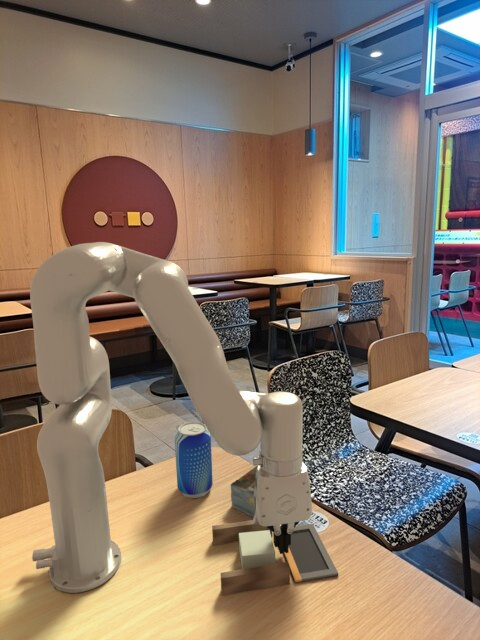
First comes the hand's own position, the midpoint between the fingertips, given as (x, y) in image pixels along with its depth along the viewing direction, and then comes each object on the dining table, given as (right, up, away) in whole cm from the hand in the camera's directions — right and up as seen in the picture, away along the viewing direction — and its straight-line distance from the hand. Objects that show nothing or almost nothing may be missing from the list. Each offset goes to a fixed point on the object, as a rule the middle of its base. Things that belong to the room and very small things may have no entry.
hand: (282, 548), depth 83 cm
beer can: (-19, +2, +22) cm, 29 cm away
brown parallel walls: (-6, -2, -1) cm, 7 cm away
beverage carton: (-1, +2, +20) cm, 20 cm away
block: (-5, -2, 0) cm, 5 cm away
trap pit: (+4, -1, +1) cm, 5 cm away
